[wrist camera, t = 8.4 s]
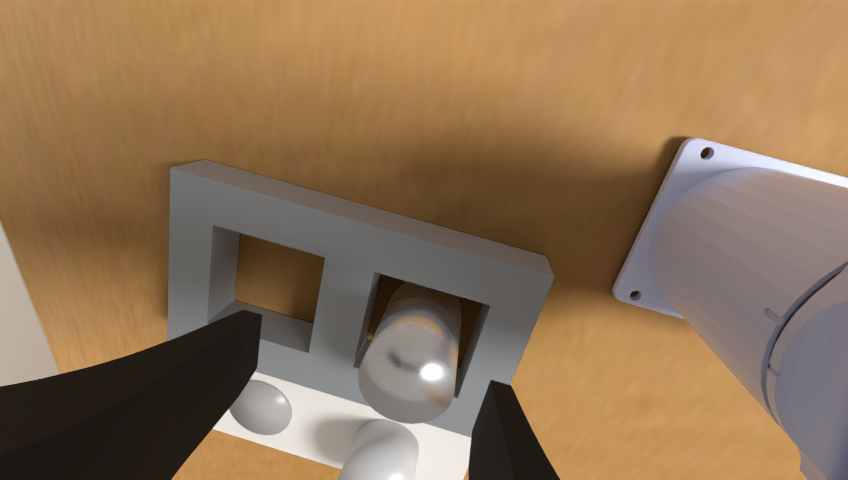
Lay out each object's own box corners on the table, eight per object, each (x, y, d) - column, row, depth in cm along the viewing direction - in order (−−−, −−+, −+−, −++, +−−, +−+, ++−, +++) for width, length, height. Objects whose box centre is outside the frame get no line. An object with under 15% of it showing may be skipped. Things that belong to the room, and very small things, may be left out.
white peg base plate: (481, 420, 24) (480, 480, 20) (454, 489, 26) (449, 555, 23) (196, 334, 25) (145, 376, 21) (193, 408, 27) (146, 458, 23)
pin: (468, 285, 21) (462, 354, 16) (454, 349, 23) (445, 432, 17) (393, 271, 22) (362, 333, 16) (385, 334, 23) (354, 412, 17)
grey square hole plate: (546, 256, 20) (554, 277, 18) (486, 408, 24) (486, 442, 21) (205, 159, 21) (170, 167, 19) (197, 320, 24) (167, 344, 22)
